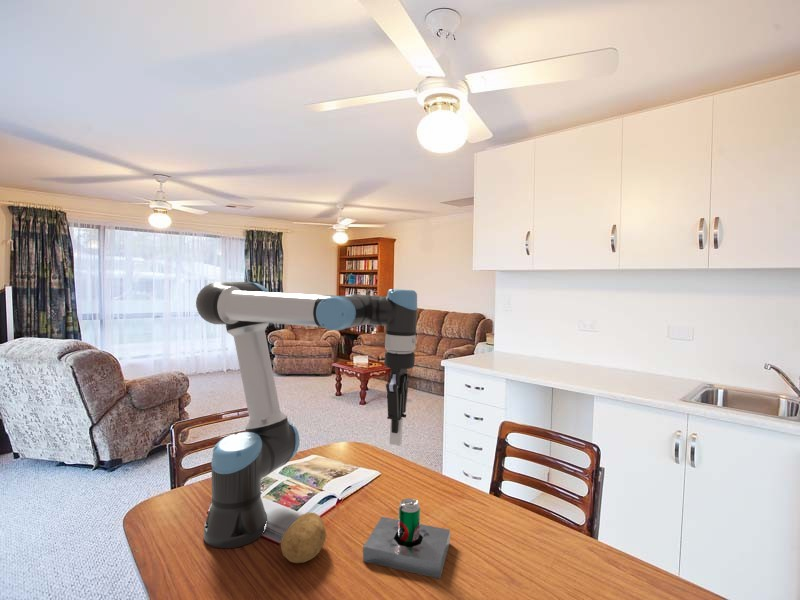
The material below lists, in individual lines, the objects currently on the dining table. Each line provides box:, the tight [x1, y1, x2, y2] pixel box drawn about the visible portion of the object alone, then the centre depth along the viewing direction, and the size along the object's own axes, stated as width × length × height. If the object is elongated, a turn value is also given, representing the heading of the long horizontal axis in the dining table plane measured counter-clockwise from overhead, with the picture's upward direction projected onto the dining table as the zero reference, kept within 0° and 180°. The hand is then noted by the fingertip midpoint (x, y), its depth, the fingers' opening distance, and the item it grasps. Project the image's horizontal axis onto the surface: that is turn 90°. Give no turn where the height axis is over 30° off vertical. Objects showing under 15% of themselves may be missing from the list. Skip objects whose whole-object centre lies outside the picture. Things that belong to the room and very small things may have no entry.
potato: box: [280, 512, 327, 564], centre depth 97 cm, size 10×14×8 cm
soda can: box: [398, 497, 421, 547], centre depth 99 cm, size 5×5×12 cm
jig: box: [362, 516, 451, 579], centre depth 99 cm, size 18×13×4 cm
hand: (395, 443), depth 105 cm, fingers closed
